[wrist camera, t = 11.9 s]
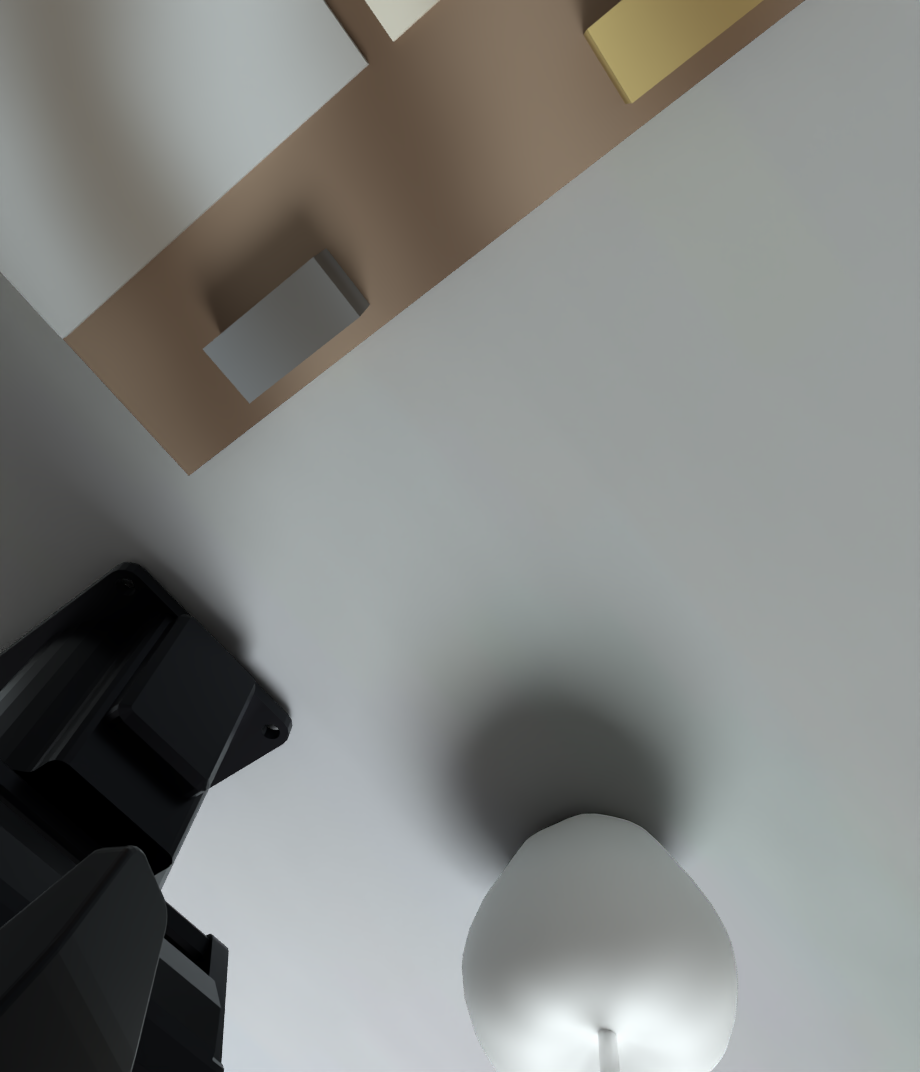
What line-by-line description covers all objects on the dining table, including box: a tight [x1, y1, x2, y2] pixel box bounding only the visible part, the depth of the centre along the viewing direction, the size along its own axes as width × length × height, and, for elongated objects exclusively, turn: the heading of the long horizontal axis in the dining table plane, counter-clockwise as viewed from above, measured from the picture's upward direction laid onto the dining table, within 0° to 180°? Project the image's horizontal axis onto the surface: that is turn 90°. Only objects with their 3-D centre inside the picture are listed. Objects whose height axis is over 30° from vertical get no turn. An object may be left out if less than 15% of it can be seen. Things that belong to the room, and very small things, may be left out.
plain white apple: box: [462, 814, 738, 1072], centre depth 22 cm, size 7×7×8 cm
